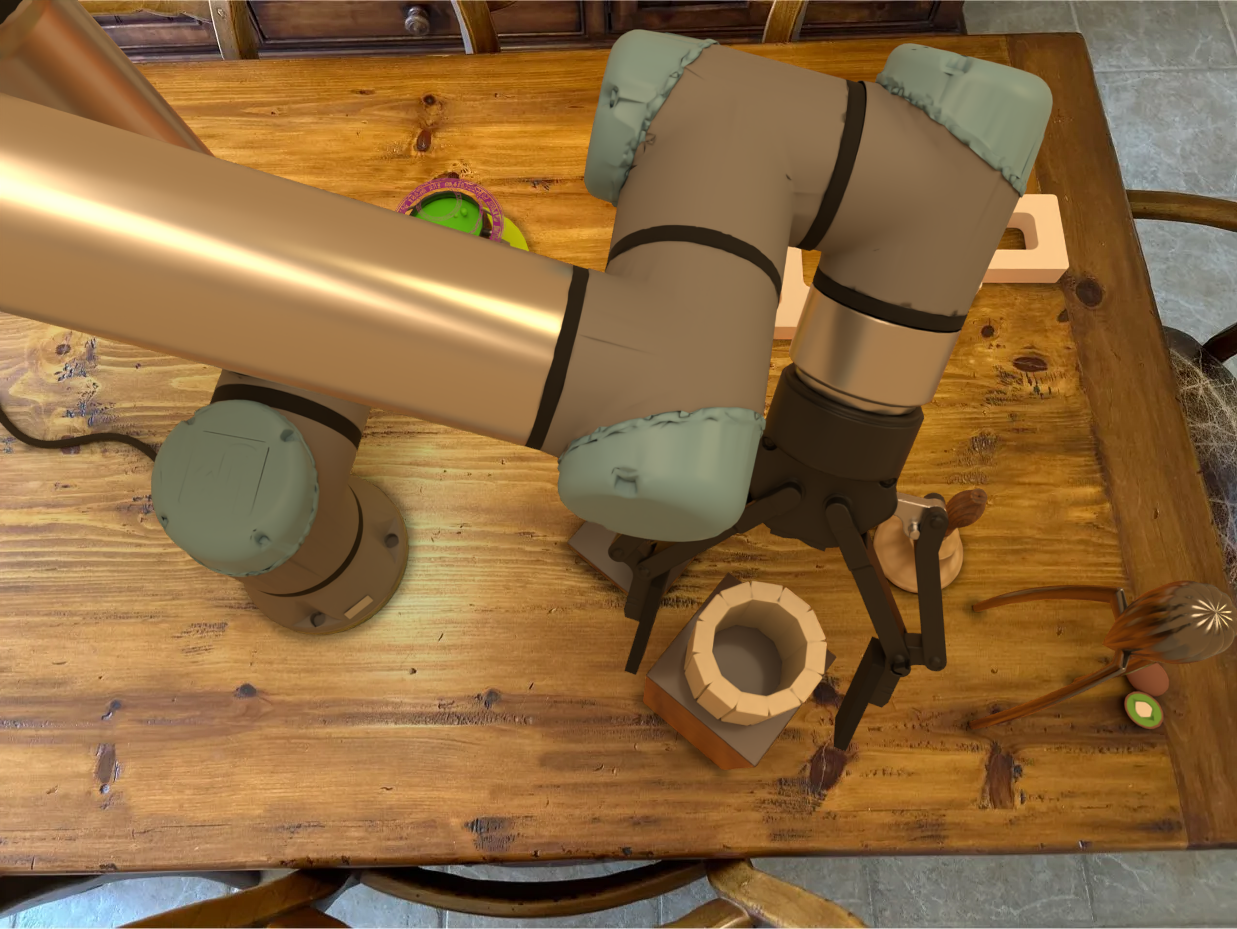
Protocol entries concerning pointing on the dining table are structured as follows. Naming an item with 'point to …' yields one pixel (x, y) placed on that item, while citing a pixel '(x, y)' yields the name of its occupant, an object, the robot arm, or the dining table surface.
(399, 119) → the dining table surface
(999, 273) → the holder
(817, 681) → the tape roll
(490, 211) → the toy cauldron
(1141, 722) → the kiwi fruit
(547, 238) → the dining table surface
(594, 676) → the dining table surface
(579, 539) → the tape peg
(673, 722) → the stand block
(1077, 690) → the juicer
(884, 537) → the hand bell
